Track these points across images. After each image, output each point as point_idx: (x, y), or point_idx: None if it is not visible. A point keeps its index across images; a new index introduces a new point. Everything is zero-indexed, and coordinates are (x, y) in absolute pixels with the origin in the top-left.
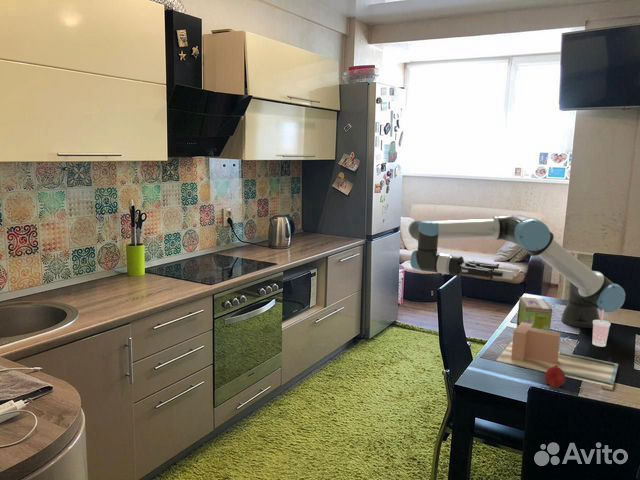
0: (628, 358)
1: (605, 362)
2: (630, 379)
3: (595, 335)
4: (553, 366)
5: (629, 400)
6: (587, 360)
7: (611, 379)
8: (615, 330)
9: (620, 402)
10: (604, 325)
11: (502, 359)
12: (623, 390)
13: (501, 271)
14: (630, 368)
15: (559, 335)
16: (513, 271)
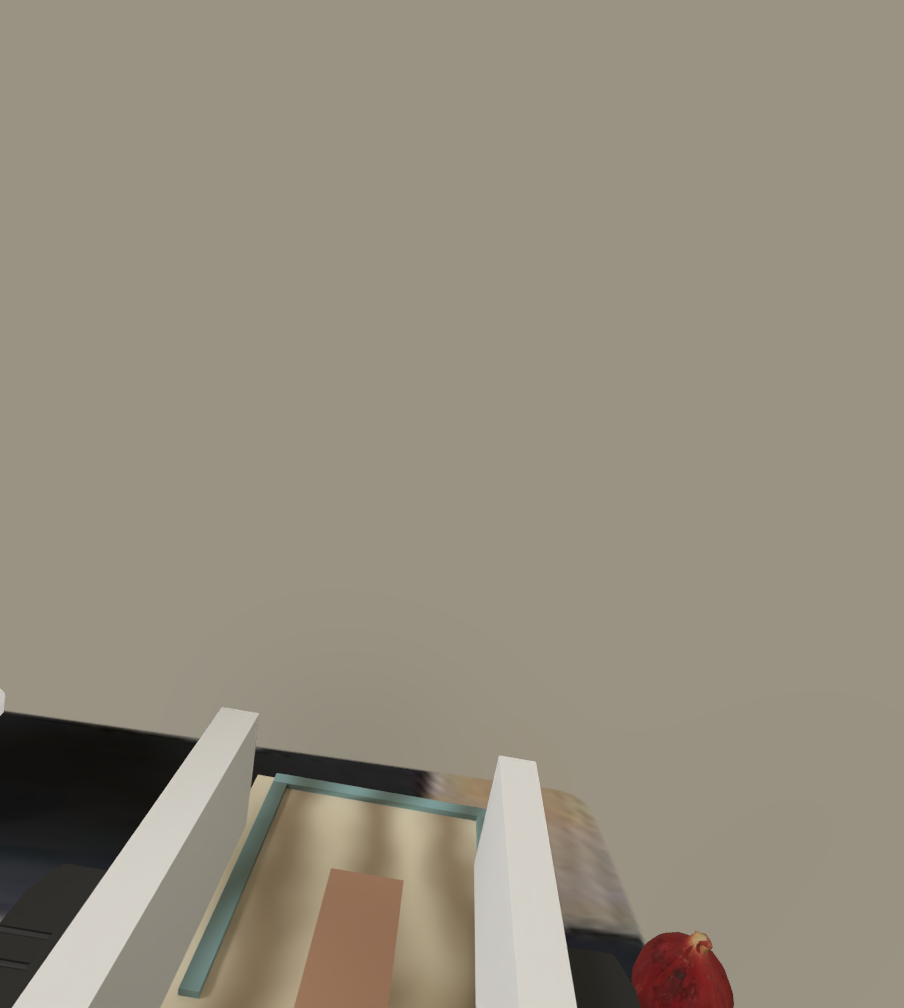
0: (149, 745)
1: (275, 806)
2: (370, 771)
3: None
4: (693, 962)
5: (550, 797)
6: (257, 868)
7: (452, 810)
8: None
9: (585, 819)
10: (3, 704)
11: None
12: (482, 800)
13: (562, 959)
14: (260, 755)
15: (377, 877)
16: (235, 792)
